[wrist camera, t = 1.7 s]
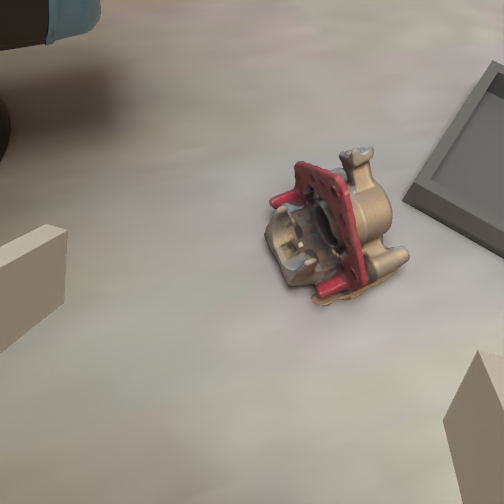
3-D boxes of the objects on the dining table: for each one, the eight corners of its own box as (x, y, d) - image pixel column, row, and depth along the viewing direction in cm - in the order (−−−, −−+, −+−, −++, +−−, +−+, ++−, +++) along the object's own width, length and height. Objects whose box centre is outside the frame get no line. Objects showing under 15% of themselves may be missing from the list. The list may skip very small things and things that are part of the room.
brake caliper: (220, 209, 39) (311, 105, 31) (304, 207, 46) (394, 122, 39) (279, 331, 35) (399, 247, 27) (360, 307, 43) (472, 236, 35)
